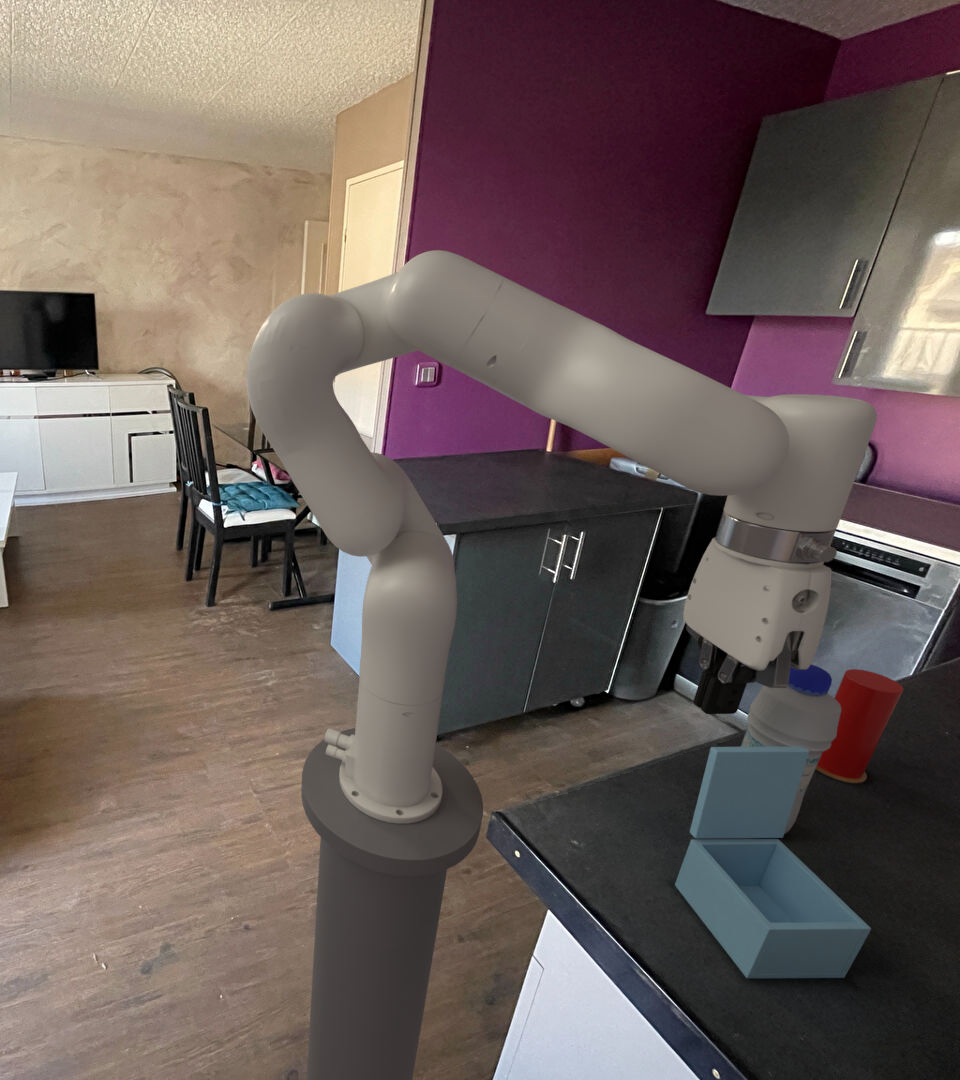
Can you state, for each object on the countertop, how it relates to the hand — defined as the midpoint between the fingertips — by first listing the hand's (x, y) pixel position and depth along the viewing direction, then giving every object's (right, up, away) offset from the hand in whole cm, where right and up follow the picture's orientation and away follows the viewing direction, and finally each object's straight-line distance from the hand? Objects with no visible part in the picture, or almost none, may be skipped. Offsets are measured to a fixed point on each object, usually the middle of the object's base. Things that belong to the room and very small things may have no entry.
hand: (714, 708), depth 58 cm
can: (+27, -11, +15) cm, 33 cm away
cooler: (0, -19, -4) cm, 20 cm away
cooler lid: (0, -7, -4) cm, 8 cm away
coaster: (+27, -12, +15) cm, 33 cm away
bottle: (+10, -15, +7) cm, 19 cm away
